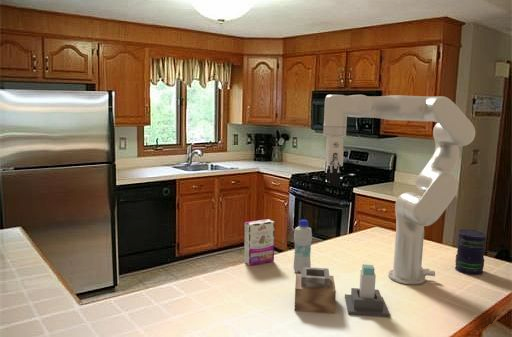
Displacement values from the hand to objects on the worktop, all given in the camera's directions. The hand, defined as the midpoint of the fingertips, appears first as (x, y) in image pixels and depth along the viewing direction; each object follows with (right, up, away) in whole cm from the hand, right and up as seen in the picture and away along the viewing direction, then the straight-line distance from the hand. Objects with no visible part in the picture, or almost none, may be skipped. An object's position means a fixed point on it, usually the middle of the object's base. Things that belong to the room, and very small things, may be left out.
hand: (332, 182), depth 148 cm
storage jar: (+56, -35, +19) cm, 69 cm away
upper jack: (-8, -38, -12) cm, 40 cm away
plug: (+8, -37, -14) cm, 41 cm away
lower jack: (+8, -38, -14) cm, 41 cm away
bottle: (-9, -34, +14) cm, 38 cm away
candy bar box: (-25, -33, +23) cm, 47 cm away
